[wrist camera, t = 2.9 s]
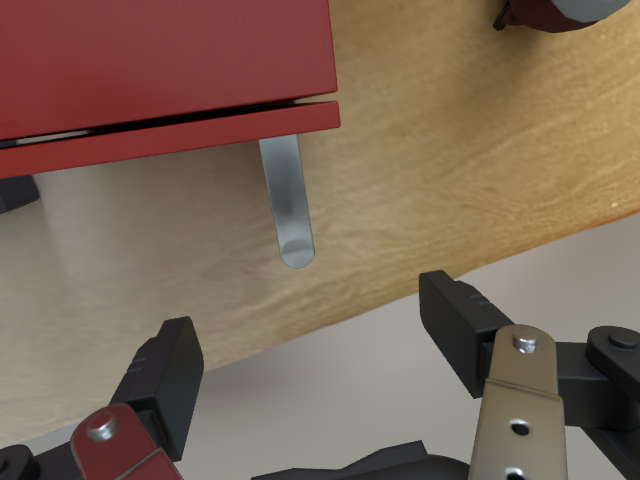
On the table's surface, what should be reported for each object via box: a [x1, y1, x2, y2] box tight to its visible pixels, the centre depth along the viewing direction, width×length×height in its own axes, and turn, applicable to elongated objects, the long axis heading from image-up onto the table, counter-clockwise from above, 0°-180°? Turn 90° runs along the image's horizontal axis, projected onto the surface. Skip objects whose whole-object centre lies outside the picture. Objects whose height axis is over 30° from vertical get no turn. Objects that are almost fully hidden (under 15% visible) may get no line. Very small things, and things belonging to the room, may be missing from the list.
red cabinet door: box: [0, 101, 341, 269], centre depth 20 cm, size 7×16×17 cm, turn 98°
